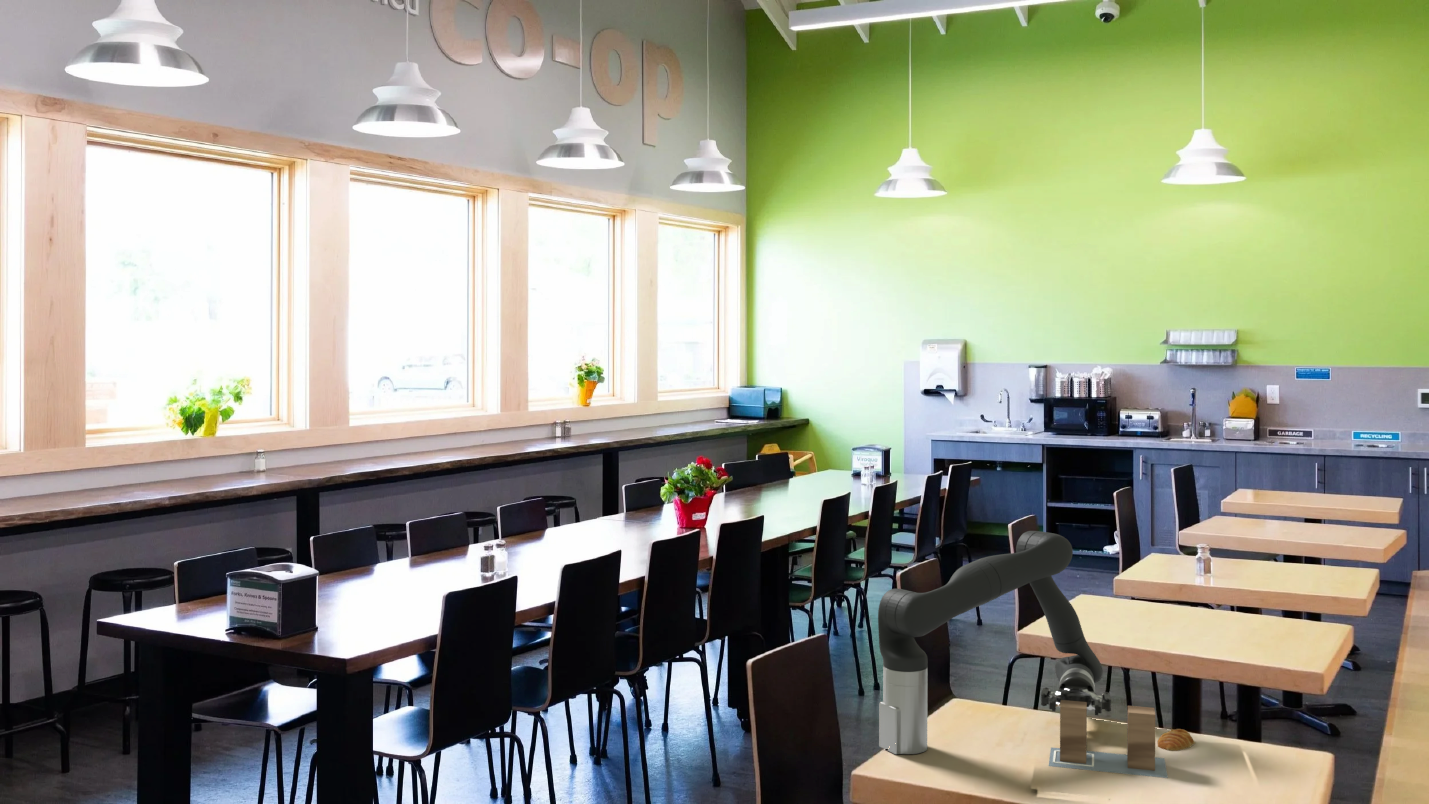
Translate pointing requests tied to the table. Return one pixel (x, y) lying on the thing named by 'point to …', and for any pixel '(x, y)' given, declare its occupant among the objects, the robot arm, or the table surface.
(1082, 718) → the pillar
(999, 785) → the table surface
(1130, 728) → the built pillar
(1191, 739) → the pastry
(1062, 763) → the board
